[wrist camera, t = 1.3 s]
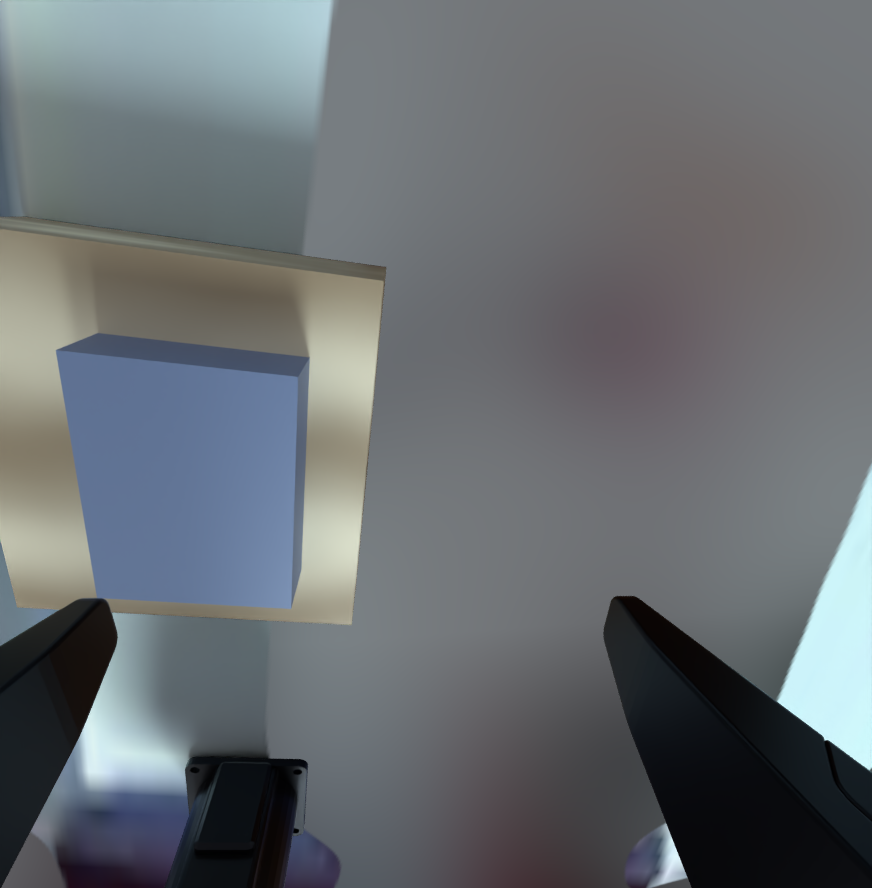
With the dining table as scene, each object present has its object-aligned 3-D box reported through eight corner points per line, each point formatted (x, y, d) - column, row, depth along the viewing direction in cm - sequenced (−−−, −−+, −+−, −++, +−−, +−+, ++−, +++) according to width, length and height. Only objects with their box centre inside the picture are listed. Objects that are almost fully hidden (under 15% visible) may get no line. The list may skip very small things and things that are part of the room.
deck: (358, 561, 23) (351, 625, 20) (79, 542, 22) (17, 607, 18) (386, 267, 18) (383, 280, 15) (22, 216, 17) (-80, 217, 13)
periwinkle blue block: (301, 570, 19) (291, 608, 17) (127, 558, 18) (97, 598, 16) (309, 357, 15) (298, 376, 14) (97, 332, 15) (55, 350, 13)
